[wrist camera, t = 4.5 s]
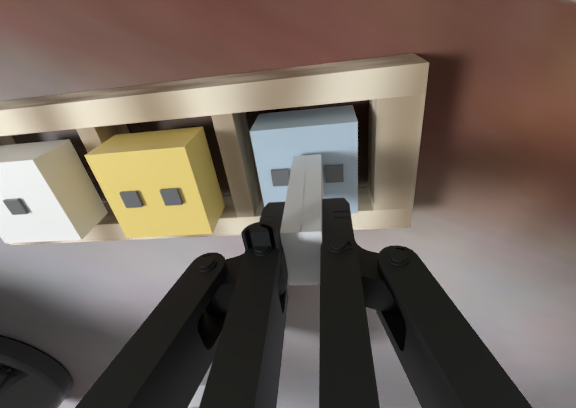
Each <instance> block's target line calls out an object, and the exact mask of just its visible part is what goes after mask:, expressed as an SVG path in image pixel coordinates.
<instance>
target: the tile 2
mask: <svg viewBox="0 0 576 408" xmlns="http://www.w3.org/2000/svg"><path fill="white" fill-rule="evenodd" d="M84 156H85V158H86V160H87V162H88V164H89V166H90V168H91V170H92V172H93V174H94V176H95V178H96V179H97V181H98V183H99V185H100V187H101V189H102V191H103V193H104V195H105V197H106V199H107V201H108V203H109V205H110V207H111V209H112V211H113V213H114V215H115V217H116V219H117V220H118V222H119V224H120V226H121V228H122V230H123V232H124V234H125V236H126V238H135V237H158V236H180V235H202V234H213V232H214V229H215V227H216V225H217V223H218V221H219V218H220V216H221V214H222V212H223V209H224V207H225V205H224V201H223V197H222V194H221V190H220V187H219V183H218V179H217V176H216V172H215V168H214V165H213V161H212V158H211V154H210V150H209V147H208V143H207V139H206V136H205V132H204V129H203V127H192V128H181V129H171V130H160V131H150V132H139V133H128V134H118V135H114V136H112V137H111V138H109V139H108V140H106V141H105V142H103V143H102V144H100V145H99V146H97V147H96V148H94V149H93V150H91V151H90V152H88V153H87V154H85V155H84Z"/></svg>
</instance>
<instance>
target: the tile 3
mask: <svg viewBox="0 0 576 408" xmlns="http://www.w3.org/2000/svg"><path fill="white" fill-rule="evenodd" d="M250 136H251V141H252V146H253V152H254V157H255V162H256V167H257V172H258V177H259V182H260V188H261V193H262V198H263V203H264V207H265V206H266V205H267V204H268V203H269V202H285V201H286V195H287V189H288V184H289V178H290V172H291V167H292V161H293V156H303V155H317V154H321V159H322V173H323V188H324V199H327V198H345V199H346V200H347V201H348V203H349V204H350V212H351V213H358V120H357V117H356V114H355V111H354V108H353V105H346V106H336V107H325V108H315V109H305V110H294V111H284V112H274V113H264V114H258V116H257V118H256V120H255V122H254V124H253V126H252V128H251V130H250Z"/></svg>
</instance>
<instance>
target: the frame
mask: <svg viewBox="0 0 576 408" xmlns="http://www.w3.org/2000/svg"><path fill="white" fill-rule="evenodd" d="M428 70H429V62H428V61H426V60H424V59H423V58H421V57H419V56H418V55H416V54H414V53H412V54H403V55H395V56H386V57H378V58H369V59H360V60H352V61H343V62H335V63H326V64H317V65H309V66H300V67H292V68H283V69H274V70H266V71H257V72H249V73H240V74H231V75H223V76H214V77H206V78H197V79H188V80H180V81H171V82H163V83H154V84H146V85H137V86H128V87H120V88H111V89H103V90H94V91H85V92H77V93H68V94H60V95H51V96H42V97H34V98H25V99H17V100H8V101H0V146H1V145H12V144H16V142H15V140H14V139H13V137H12V136H11V135H19V134H29V133H39V132H49V131H59V130H69V129H76V131H77V132H78V134H79V136H80V138H81V140H82V142H83V144H84V146H85V148H86V150H87V152H90V151H91V150H93V149H94V148H96V147H97V146H99V145H100V144H102V143H103V142H105V141H106V140H108V139H109V138H111V137H112V136H114V135H118V134H128V133H129V130H128V128H127V125H126V124H130V123H140V122H150V121H160V120H170V119H180V118H190V117H201V116H211V117H212V121H213V125H214V129H215V133H216V137H217V141H218V145H219V149H220V152H221V156H222V160H223V164H224V168H225V172H226V176H227V180H228V184H229V188H230V191H231V195H229V196H222V197H223V201H224V205H225V207H224V209H223V212H222V214H221V216H220V218H219V221H218V223H217V225H216V227H215V229H214V232H213V234H202V235H180V236H158V237H135V238H126V236H125V234H124V232H123V230H122V228H121V226H120V224H119V222H118V220H117V219H116V217H115V215H114V213H113V211H112V209H111V207H110V205H109V203H103V204H104V206H105V208H106V210H107V212H108V214H107V215H106V216H105V217H104V218H103V219H102V220H101V221H100V222H99V223H98V224H97V225H96V226H95V227H94V228H93V229H92V230H91V231H90V232H89V233H88V234H87V235H86V236H85V237H84V238H83V239H82V240H69V241H47V242H25V243H10V244H11V245H24V244H46V243H69V242H91V241H114V240H137V239H159V238H182V237H205V236H227V235H241V233H242V231H243V229H244V228H246V227H247V226H248V225H250V224H253V223H256V222H259V221H260V217H261V213H262V210H263V208H264V203H263V198H262V193H261V189H260V184H259V179H258V174H257V169H256V164H255V158H254V153H253V148H252V143H251V138H250V133H249V128H248V123H247V117H246V112H251V111H261V110H271V109H281V108H292V107H302V106H312V105H322V104H332V103H342V102H352V101H362V100H369V135H368V187H358V213H351V218H352V226H353V230H363V229H386V228H408V227H411V220H412V212H413V203H414V194H415V185H416V176H417V167H418V159H419V150H420V141H421V132H422V123H423V114H424V106H425V97H426V88H427V79H428Z"/></svg>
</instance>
